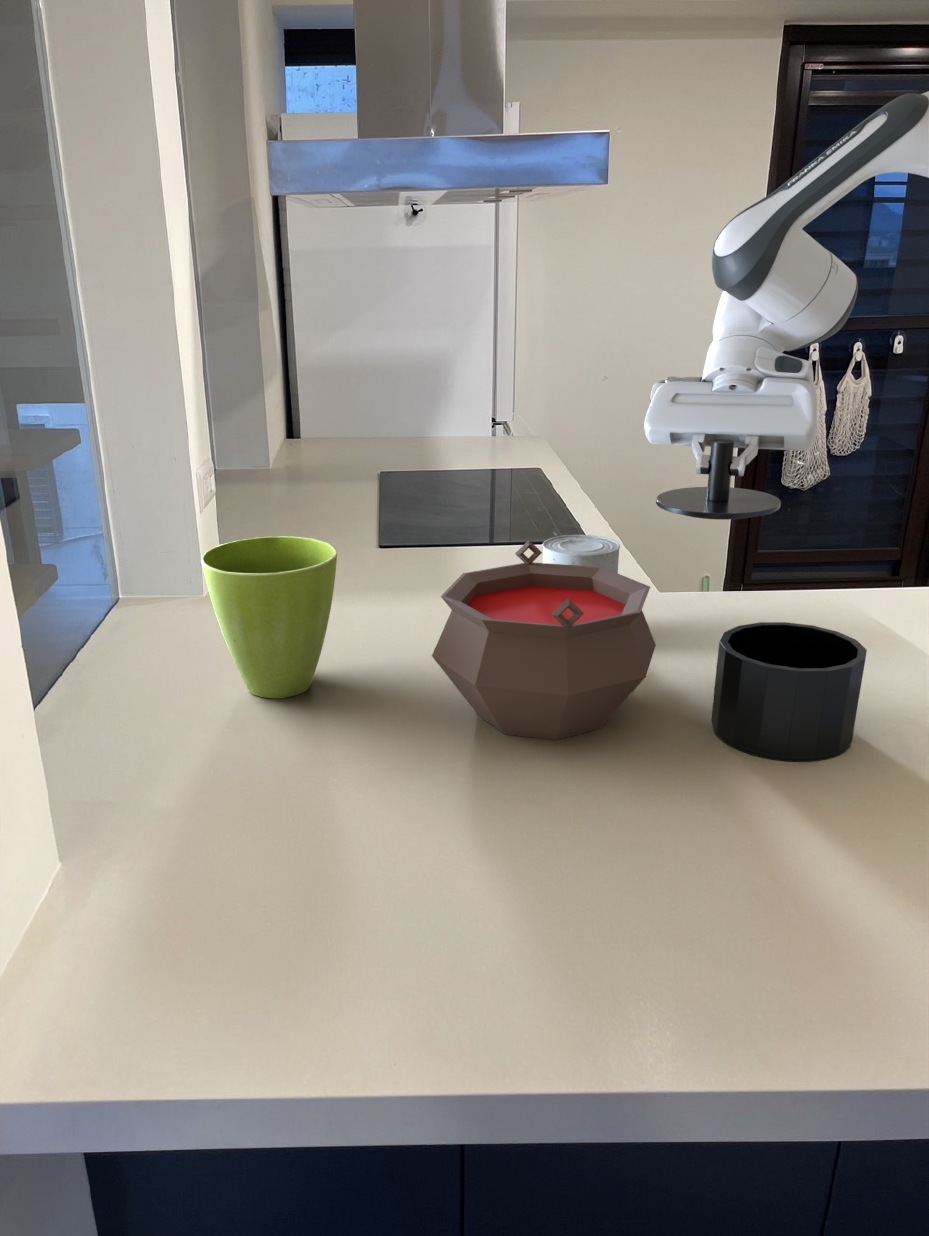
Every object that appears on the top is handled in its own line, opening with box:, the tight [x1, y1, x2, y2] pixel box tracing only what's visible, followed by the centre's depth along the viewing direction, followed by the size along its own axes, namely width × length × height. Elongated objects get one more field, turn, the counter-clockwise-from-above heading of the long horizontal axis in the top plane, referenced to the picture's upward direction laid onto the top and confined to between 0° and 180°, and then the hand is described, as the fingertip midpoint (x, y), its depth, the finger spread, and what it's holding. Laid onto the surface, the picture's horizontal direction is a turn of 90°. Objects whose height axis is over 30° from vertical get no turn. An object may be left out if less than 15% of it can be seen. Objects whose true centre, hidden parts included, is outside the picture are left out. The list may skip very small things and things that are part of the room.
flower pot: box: [200, 535, 338, 699], centre depth 115 cm, size 15×15×16 cm
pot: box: [710, 621, 868, 763], centre depth 102 cm, size 14×14×10 cm
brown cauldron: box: [431, 539, 657, 741], centre depth 107 cm, size 24×24×16 cm
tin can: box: [542, 534, 621, 574], centre depth 128 cm, size 10×10×12 cm
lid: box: [655, 439, 782, 521], centre depth 122 cm, size 15×15×8 cm
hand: (719, 472), depth 121 cm, fingers closed on lid, 2 cm apart
